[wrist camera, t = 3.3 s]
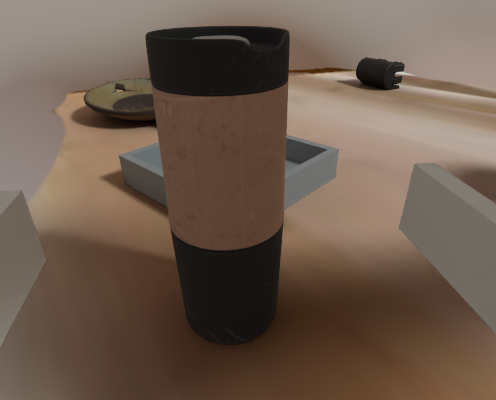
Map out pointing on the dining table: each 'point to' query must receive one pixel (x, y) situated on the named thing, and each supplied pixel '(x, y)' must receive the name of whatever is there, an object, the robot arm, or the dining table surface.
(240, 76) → the travel mug
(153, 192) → the parts tray
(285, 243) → the dining table surface
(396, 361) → the dining table surface
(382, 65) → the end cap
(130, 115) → the oil lamp
